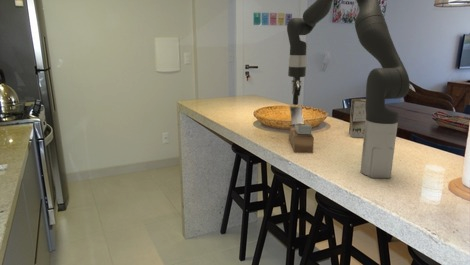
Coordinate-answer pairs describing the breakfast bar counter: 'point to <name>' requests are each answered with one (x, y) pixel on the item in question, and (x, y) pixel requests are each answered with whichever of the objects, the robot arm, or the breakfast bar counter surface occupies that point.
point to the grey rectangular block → (303, 128)
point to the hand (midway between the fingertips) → (295, 104)
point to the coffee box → (357, 118)
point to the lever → (296, 114)
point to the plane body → (301, 141)
